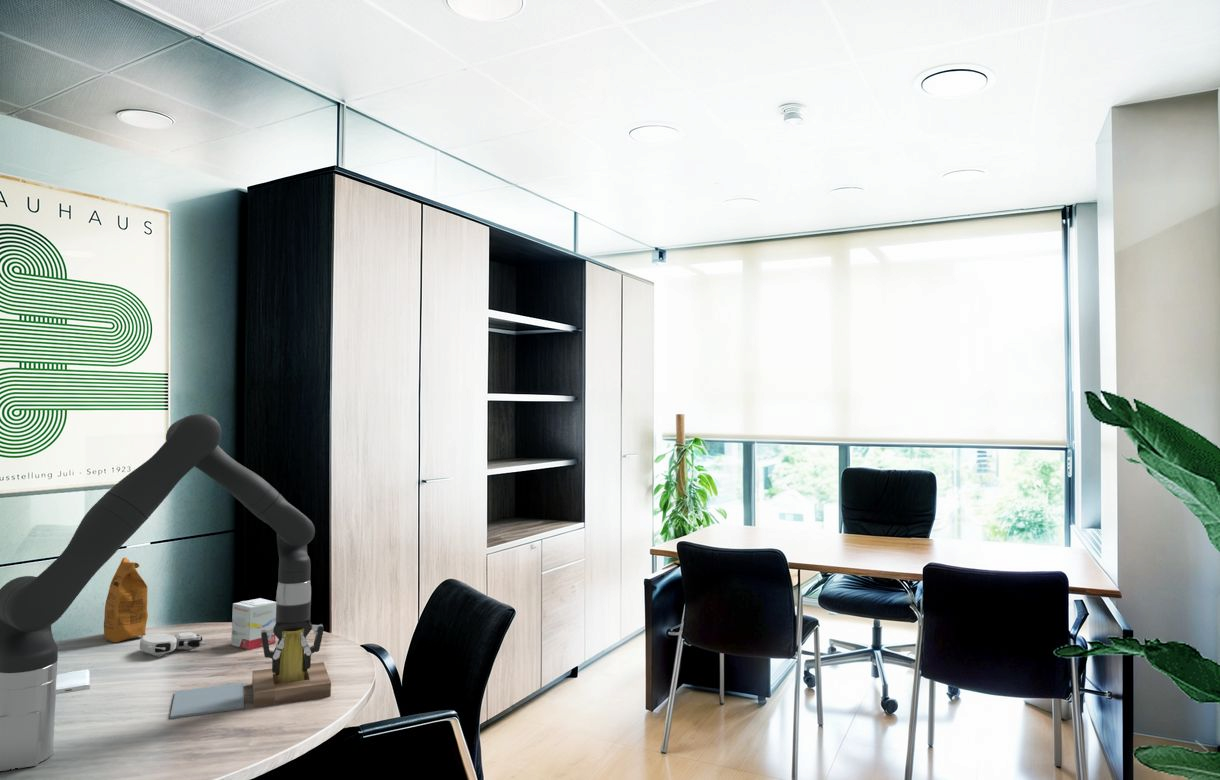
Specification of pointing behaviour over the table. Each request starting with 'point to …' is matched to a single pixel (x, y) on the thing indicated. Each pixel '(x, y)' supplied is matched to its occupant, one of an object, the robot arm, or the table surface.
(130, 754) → the table surface
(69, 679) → the hard drive
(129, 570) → the coffee package
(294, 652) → the vase
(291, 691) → the pocket block
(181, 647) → the robot toy
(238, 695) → the mat
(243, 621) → the ink box
